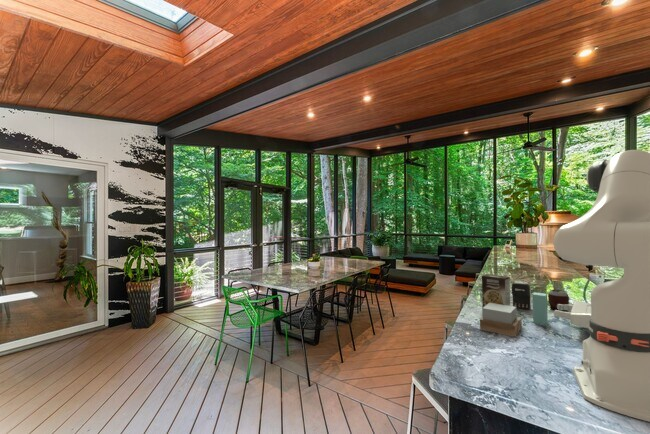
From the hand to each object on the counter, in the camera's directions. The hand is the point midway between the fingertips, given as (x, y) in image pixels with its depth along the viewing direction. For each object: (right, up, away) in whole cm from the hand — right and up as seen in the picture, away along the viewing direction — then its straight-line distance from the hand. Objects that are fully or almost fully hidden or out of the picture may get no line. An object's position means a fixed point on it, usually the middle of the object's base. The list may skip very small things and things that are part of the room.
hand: (555, 309), depth 110 cm
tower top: (-21, -3, -1) cm, 21 cm away
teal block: (-3, -6, +3) cm, 8 cm away
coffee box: (-14, -7, +14) cm, 21 cm away
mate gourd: (+16, -6, +19) cm, 26 cm away
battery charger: (+2, -6, +22) cm, 23 cm away
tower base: (-21, -7, -1) cm, 22 cm away
